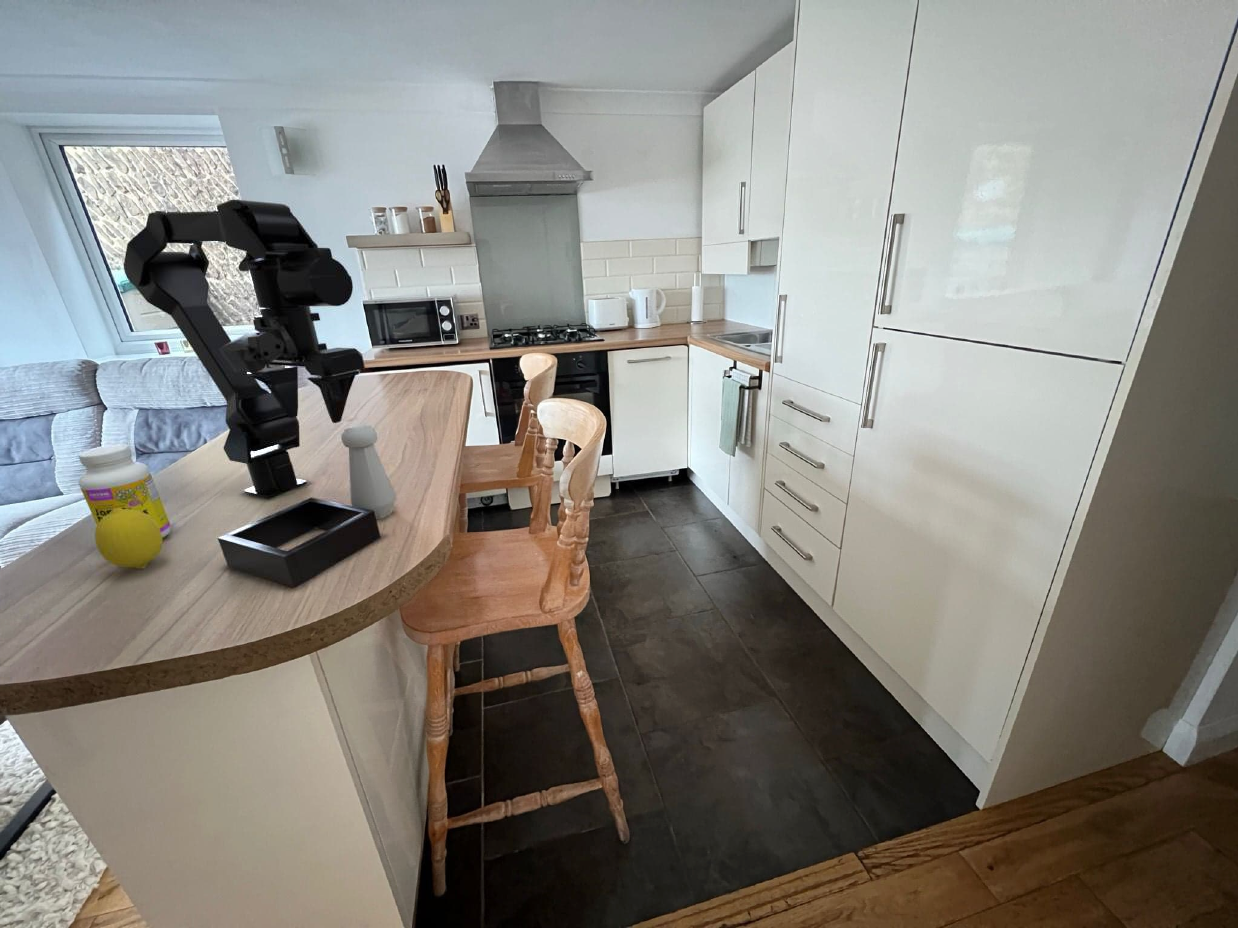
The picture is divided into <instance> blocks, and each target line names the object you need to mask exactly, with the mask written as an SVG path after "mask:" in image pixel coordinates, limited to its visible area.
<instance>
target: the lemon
mask: <svg viewBox="0 0 1238 928" xmlns="http://www.w3.org/2000/svg"><path fill="white" fill-rule="evenodd" d="M94 540H95V545H96V548H97V550H98V553H99V554H100V555H101V556H102V558H103V559H104V560H106V561H107V562H108V563H110V564H112V565H114V566H117V567H121V568H135V569H138V570H140V569H144V568H146V567H147V565H148V564H149V562H151V561H152V560H154V559H155V558H156V557H157V556H158V554H159V553H160V552H161V550H162V545H163V538H162V534H161V531H160V529H159V527H158V526H157V524H156V523H155V522H154V520H153V519H152V518H151V517H150V516H148V515H147V514H145V513H143V512H141V511H137V510H132V509H122V508H116V509H113V511H112V512H111V513H110V514H108V515H106V516H105V517H104V518H102V520H101V521H100V522H99V523H98V525H97V524H96V527H95V530H94Z"/></svg>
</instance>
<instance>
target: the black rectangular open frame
mask: <svg viewBox="0 0 1238 928" xmlns="http://www.w3.org/2000/svg"><path fill="white" fill-rule="evenodd" d="M377 520H378V519H376V516H375V512H374V510H369V509H364V508H360V507H355V506H352V505H350V504H344V503H340V502H335V501H332V500H331V501H330V500H326V499H321V498H317V497H313V496H312V497H309V498H306V499H304V500H302V501H299V502H296V503H295V504H292V505H290V506H288V507H286V508H284V509H281V510H278V511H276V512H273V513H272V514H269V515H267V516H265V517H262V518H260V519H258V520H256V521H254V522H251V523H249V524H247V525H244V526H242V527H239V528H238V529H236V530H235V529H234V530H233V531H230V532H228V533H226V534H223V535H222V536H219V537H217V540H218V541H217V542H218V543H219V546H220V549H221V552H222V554H223V557H224V560H225V562H226V566H227V567H228V568H230V569H233V570H235V571H239V572H243V573H246V574H249V575H252V576H256V577H259V578H262V579H264V580H268V581H271V582H274V583H277V584H281V585H284V586H286V587H290V588H293V589H295V588H297V587H299V586H300V585H302V584H304V583H305V582H307V581H309V580H311V579H313V578H314V577H316V576H318V575H319V574H321V573H322V572H324V571H326V570H327V569H329V568H331V567H333V566H334V565H336V564H338V563H339V562H341V561H343V560H344V559H346V558H348V557H350V556H352V555H353V554H355V553H357V552H359V551H360V550H362V549H363V548H365V547H367V546H369V545H370V544H372V543H374V542H375V541H378V540H379V539H381V534H380V528H379V525H378V522H377ZM315 528H319V529H322V530H323V529H324V530H326V531H324V532H322V533H319V534H318V535H316V536H314V537H312V538H309V539H308V540H306V541H304V542H303V543H300V544H298V545H296V546H294V547H292V548H291V549H288V550H284V549H281V548H278V547H280V546H281V545H283V544H286V543H288V542H289V541H291V540H293V539H295V538H298V537H299V536H302V535H303V534H305V533H308V532H309V531H311V530H314V529H315Z"/></svg>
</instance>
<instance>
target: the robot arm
mask: <svg viewBox="0 0 1238 928" xmlns="http://www.w3.org/2000/svg"><path fill="white" fill-rule="evenodd" d="M203 243H225V246H227V247H229V248H233V249H236V250H239V251H243V252H245V255H244V258H243V259H242V260H241V261H240V262H239V264H238V266H237V268H238V270H239V271H240V272H248V273H249V278H250V280H251V284H252V287H253V288H252V289H253V291H254V295H255V297H256V301H257V305H258V308H259V312H260V315H258V316H253V318H254V319H253V320H252V323H253V326H254V330H252V331H250V332H247V333H245V334H242V335H240V336H239V337H237V338H234V339H233V340H231V338H230V336H229V334H228V333H227V332H226V330H225V328H224V327H223V326H222V323H221V322H220V320H219V319H218V317H217V316H216V314H215V313H214V311H213V310H212V308H211V306H210V305H209V302H208V298H209V288H210V283H209V281H208V279H207V278H206V275H207V272H208V268H209V265H210V260H209V259H208V257H207V255H206V254H205V251H204V250H203V248H202V246H203ZM168 244H189V250H188V253H186V252H184V251H164V250H165V249H166V248H167V246H168ZM332 253H333V252H332V250H331V249H330V247H319V246H318V244H317V243H316V241H314V240H313V239H312V237H311V235H310V234H309V233H308V232H307V231H306V229H305V228H304V226H303V225H302V224H301V222H300V221H299V219H298V218H297V217H296V216H295V215H294V213H293V212H292V211H291V208H290V206H288V205H286V204H284V203H277V202H266V201H256V200H255V201H254V200H247V199H246V200H244V199H234V198H233V199H229V200H227V201H224V202H222V203H219V204H217V206H216V210H211V211H210V210H209V211H182V212H181V211H168V210H167V211H166V210H165V211H164V210H156V211H154V212H149V214H148V215H147V219H146V224H145V227H144V228H143V229H141V231H139V232H138V233H137V234H136V235H134V237H132V238H131V239H130V240H129V241H128V243H127V245H126V249H125V254H124V260H123V271H124V274H125V276H126V279H127V281H128V282H129V283H130V284H131V285H132V286H134V287H135V288H136V290H137V291H138V292H139V294H140V295H141V296H142V297H143V298H144V300H145V301H146V302H147V303H148V304H150V305H152V306H154V307H155V308H157V309H159V310H160V311H162V312H164V313H166V314H167V315H169V316H170V317H171V318H172V320H173V321H174V323H175V324H176V326H177V327H178V328H179V330H180V332H181V334H183V337H184V338H185V340H186V341H187V342H188V344H189V345H190V347H191V349H192V350H193V352H194V353H195V355H196V357H197V358H198V359H199V361H200V362H201V364H202V365H203V367H204V369H205V370H206V372H207V373H208V375H209V376H210V378H211V379H212V381H213V382H214V384H215V386H216V387H217V388H218V390H219V392H220V393H221V395H222V396H223V398H224V400H225V401H226V408H225V419H224V421H225V423H226V425H227V428H228V430H229V431H228V433H227V436H226V439H225V442H224V445H223V451H224V453H225V454H226V456H227V458H228V461H230V462H235V463H239V464H240V463H242V464H246V467H247V470H248V473H249V476H250V479H251V482H252V485H253V486H251V487H249V488H245V489H244V494H245V495H246V494H247V495H251V496H256V497H259V498H266V499H272V498H274V497H277V496H280V495H283V494H284V493H285V494H286V493H287V492H290V491H292V490H294V489H297V488H300V487H302V486H304V485H306V484H308V482H307V480H306V479H300V478H297V476H296V473H295V469H294V466H293V463H292V461H291V458H290V454H289V452H288V451H289V450H292V449H295V448H300V446H301V445H300V443H301V442H300V440H301V439H300V421H299V418H297V417H298V414H299V413H298V412H299V369H298V367H301V368H303V367H304V368H305V370H306V372H308V374H310V376H309V377H306V379H307V380H308V381H309V382H311V383H312V384H313V385H315V386H316V387H318V388H319V391H320V393H321V395H322V399H323V401H324V405H325V408H326V410H327V413H328V417H329V419H330V420H331V422H332V423H333V424H338V423H340V422H342V419H343V415H344V412H345V408H346V405H347V400H348V398H349V394H350V390H351V389H352V386H353V383H354V380H355V378H356V376H358V375H360V370H362V369H365V368H366V366H365V361H364V355H363V353H362V352H360V351H359V350H358V349H357V348H355V347H333V348H328V345H327V343H326V342H319V339H318V334H317V330H316V327H315V322H318V321H321V317H320V313H319V312H312V309H311V307H341V306H343V305H346V303H347V302H349V300H350V299H351V298H352V294H353V291H354V287H353V286H354V285H353V279H352V276H351V275H350V274H349V272H348V270H347V269H346V267H345V266H344V265H343V264H342V263H341V262H340V261H338V260H337V259H335V258H334V257H333V255H332ZM259 382H261V383H263V384H264V385H265V386H266V387H267V388H268V390H269V391H268V390H267V389H265V388H263V387H262V386H261V385H260V384H259Z"/></svg>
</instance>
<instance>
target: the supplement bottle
mask: <svg viewBox="0 0 1238 928" xmlns="http://www.w3.org/2000/svg"><path fill="white" fill-rule="evenodd" d="M132 456H133V452H132V450H131V447H130V446H129V444H125V443H117V444H108V445H103V446H97V447H93V448H90V449H87V450H84V451H81V452H80V453H78V459H79V461H80V463H81V465H83V466H84V467H85V469H86V471H85V472H83V474H81V476H79V479H78V486H79V488H80V490H81V494H82V495H83V497H84V500H85V503H86V504H87V506H88V508H89V511H90V513H91V515H92V517H93V520H94V522H95V525H96V526H97V525H98V523H99V522H100V521H101V520H102V518H104V517H105V516H106V515H108V514H110V513H111V512H112V511H113V509H116V508H122V509H132V510H137V511H141V512H143V513H145V514H147V515H148V516H150V517H151V518H152V519H153V520H154V522H155V523H156V524H157V526H158V527H159V529H160V531H161V534H162V539H164V538H165V537H167V536H168V535H169V534H170V532H171V531H172V525H171V523H170V519H169V516H168V514H167V512H166V509H165V507H164V504H163V502H162V499H161V497H160V494H159V491H158V489H157V486H156V483H155V481H154V478H153V476H152V473H151V471H150V469H149V467H148V466H147V465H146V464H144V463H142V462H139V461H134V460H133V457H132Z"/></svg>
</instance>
